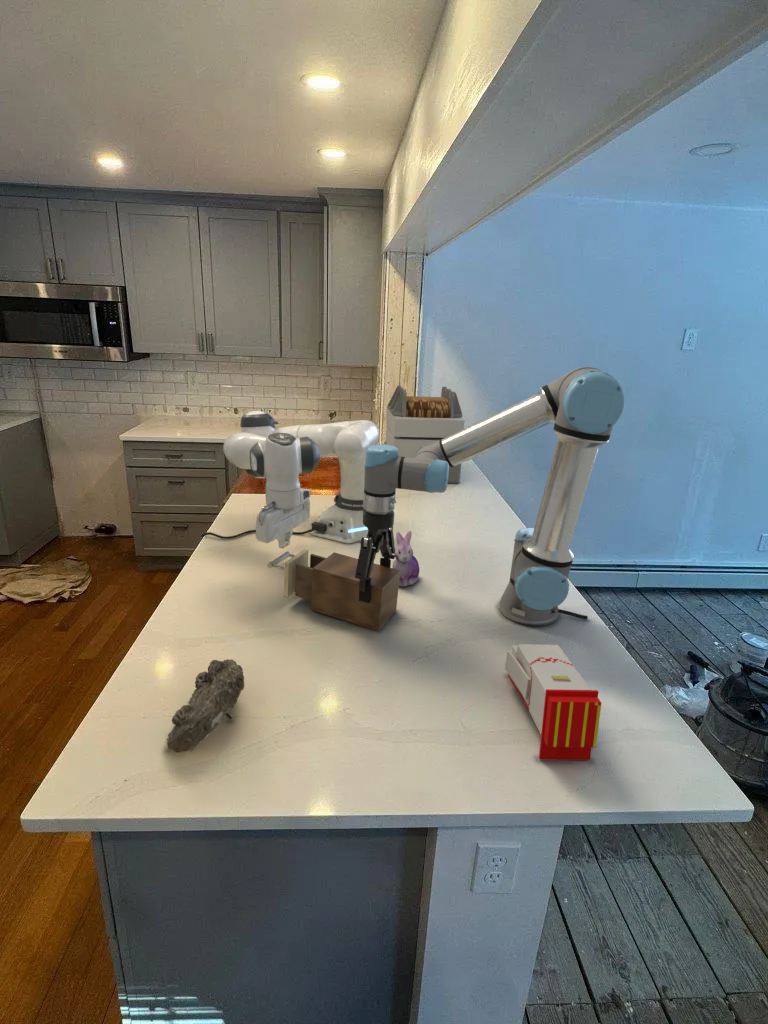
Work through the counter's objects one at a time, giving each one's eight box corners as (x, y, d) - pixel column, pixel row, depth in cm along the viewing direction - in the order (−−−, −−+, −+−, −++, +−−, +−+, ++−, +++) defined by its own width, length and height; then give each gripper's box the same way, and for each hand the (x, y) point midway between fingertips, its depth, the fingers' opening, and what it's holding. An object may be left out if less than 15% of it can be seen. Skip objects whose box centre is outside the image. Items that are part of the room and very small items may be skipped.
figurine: (399, 590, 159) (401, 541, 154) (382, 575, 168) (384, 528, 163) (427, 584, 164) (431, 536, 158) (410, 570, 172) (413, 524, 167)
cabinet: (311, 609, 146) (312, 568, 142) (332, 591, 156) (334, 552, 151) (378, 631, 139) (382, 588, 135) (396, 611, 149) (400, 570, 145)
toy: (554, 627, 126) (611, 698, 97) (548, 682, 129) (602, 767, 99) (500, 626, 125) (540, 697, 96) (495, 681, 128) (534, 767, 99)
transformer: (382, 463, 289) (386, 382, 275) (445, 464, 293) (451, 384, 279) (390, 482, 257) (394, 392, 243) (460, 483, 261) (468, 394, 247)
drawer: (266, 590, 151) (266, 557, 148) (286, 576, 160) (287, 544, 156) (343, 615, 143) (345, 580, 139) (361, 598, 152) (363, 565, 148)
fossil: (192, 660, 117) (244, 628, 112) (224, 691, 120) (276, 661, 115) (142, 746, 98) (202, 712, 93) (182, 779, 101) (242, 748, 96)
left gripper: (269, 511, 136) (271, 563, 140) (314, 488, 153) (314, 536, 158) (248, 506, 138) (250, 558, 143) (294, 485, 156) (295, 532, 160)
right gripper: (372, 528, 124) (367, 616, 131) (411, 499, 144) (405, 576, 152) (341, 521, 127) (339, 608, 134) (384, 493, 147) (380, 570, 155)
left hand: (284, 546), depth 151 cm, fingers closed
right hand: (374, 591), depth 143 cm, fingers closed on cabinet, 11 cm apart
